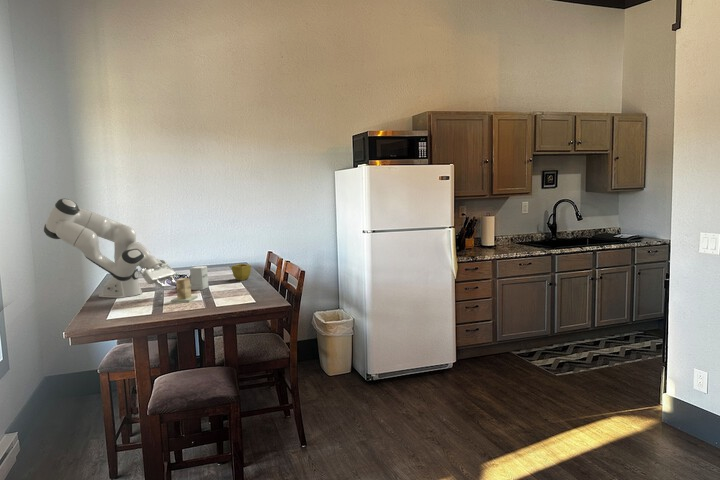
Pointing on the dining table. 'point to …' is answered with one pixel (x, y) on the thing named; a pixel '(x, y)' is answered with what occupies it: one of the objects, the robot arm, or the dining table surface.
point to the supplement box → (199, 277)
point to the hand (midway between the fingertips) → (168, 285)
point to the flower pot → (241, 271)
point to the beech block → (183, 288)
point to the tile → (184, 299)
